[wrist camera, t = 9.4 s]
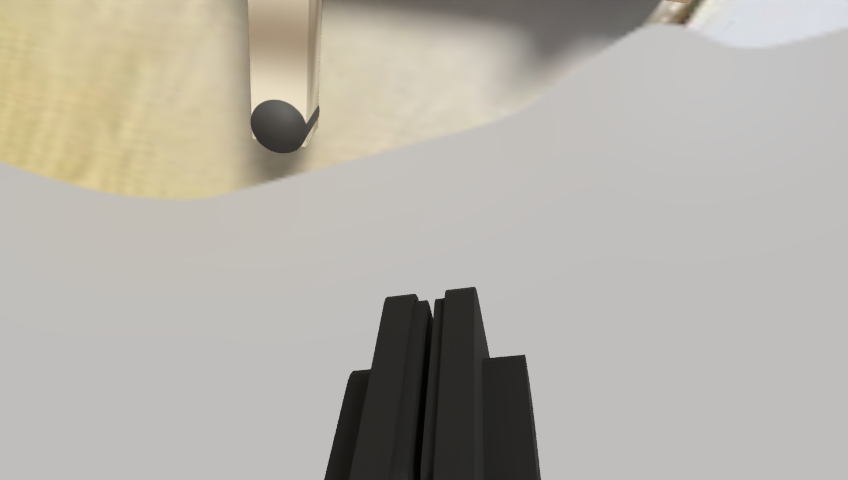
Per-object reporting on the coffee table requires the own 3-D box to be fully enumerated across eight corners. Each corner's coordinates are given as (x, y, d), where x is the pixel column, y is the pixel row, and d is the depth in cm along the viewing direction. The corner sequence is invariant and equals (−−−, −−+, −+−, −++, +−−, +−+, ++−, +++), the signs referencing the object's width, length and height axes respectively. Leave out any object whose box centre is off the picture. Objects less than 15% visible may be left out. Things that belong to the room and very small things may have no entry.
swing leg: (254, -194, 22) (229, -200, 20) (337, -180, 22) (322, -185, 20) (261, 127, 29) (244, 148, 27) (324, 136, 29) (312, 159, 27)
